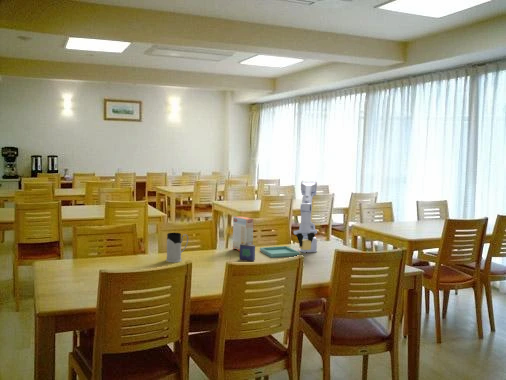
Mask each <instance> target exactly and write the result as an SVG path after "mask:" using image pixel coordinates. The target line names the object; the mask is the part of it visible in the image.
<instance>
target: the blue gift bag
mask: <svg viewBox="0 0 506 380" xmlns="http://www.w3.org/2000/svg"><path fill="white" fill-rule="evenodd" d="M248 244H249V242H246V244H245V243H243V244H240V251H239V261H244V260H247V261H246V262H255V261H256V245H255V244H253V245H248ZM254 260H255V261H254Z"/></svg>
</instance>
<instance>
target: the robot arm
mask: <svg viewBox="0 0 506 380" xmlns="http://www.w3.org/2000/svg"><path fill="white" fill-rule="evenodd" d="M317 189H318V182H317V181H316V180H315V181H311V180H310V181H309V180H301V182H300V191H301V195H302V199H301V203H300V208H299V209H300V223H299V226H298V227H299V228H298V229H297V230H293V234H294V235H296V238H297V240H298V245H299V246H301V247H302V241H303V240H304V239H308V240H310V241H311V249H309V250H302V249H300V248H298V250H297V251H298V252H301V253H303V254H304V253H305V254H306V252H307V253H317V252H318V251H317V248H318V247H317V246H318V240H317V237H316V234H318V230H317V229H316V225H315V223H314V222H312V211H313V204H312V203H313V199H314V198H313V197H314V196H316V195H317V191H318V190H317Z"/></svg>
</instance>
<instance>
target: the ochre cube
mask: <svg viewBox="0 0 506 380" xmlns="http://www.w3.org/2000/svg"><path fill="white" fill-rule="evenodd" d="M298 249H302V250H309V249H311V241H310V240H308V239H304V240H303V241H302V247H301V246H299V247H298Z"/></svg>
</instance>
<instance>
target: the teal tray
mask: <svg viewBox="0 0 506 380" xmlns="http://www.w3.org/2000/svg"><path fill="white" fill-rule="evenodd" d="M259 252H261V253H262V254H264V255H266V256H267V257H269V258H282V257H283V258H284V257H285V258H286V257H288V256H289V257H297V256H296V255H299V256H300V251H299V250H296V249H294V248H292V247H290V246H287V245H282V246H269V247H268V246H267V247H264V246H263V247H259Z"/></svg>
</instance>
